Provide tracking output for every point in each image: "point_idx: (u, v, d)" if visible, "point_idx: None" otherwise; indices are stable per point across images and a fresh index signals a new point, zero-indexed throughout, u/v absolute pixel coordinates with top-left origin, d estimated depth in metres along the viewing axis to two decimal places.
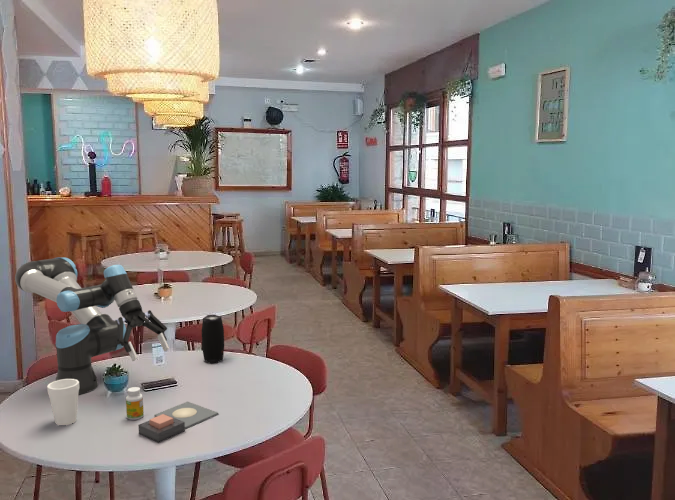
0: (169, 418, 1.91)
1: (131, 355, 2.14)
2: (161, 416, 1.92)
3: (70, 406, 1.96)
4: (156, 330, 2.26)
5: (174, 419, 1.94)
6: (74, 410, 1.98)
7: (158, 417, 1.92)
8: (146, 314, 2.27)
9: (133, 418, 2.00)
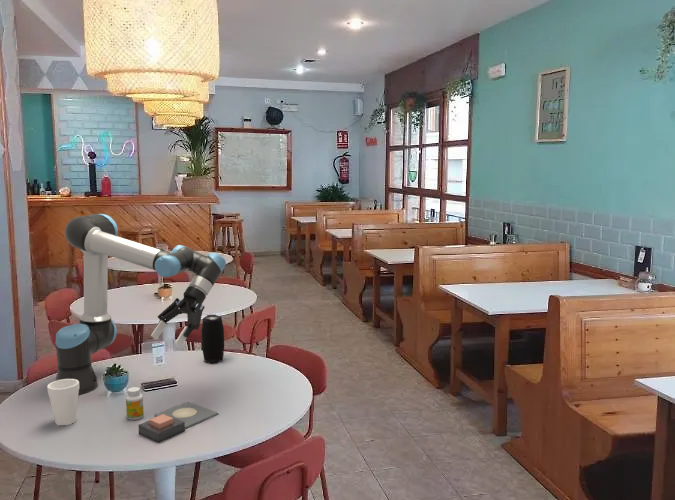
0: (169, 418, 1.91)
1: (181, 339, 2.06)
2: (161, 416, 1.92)
3: (70, 406, 1.96)
4: (168, 319, 2.18)
5: (174, 419, 1.94)
6: (74, 410, 1.98)
7: (158, 417, 1.92)
8: None
9: (133, 418, 2.00)
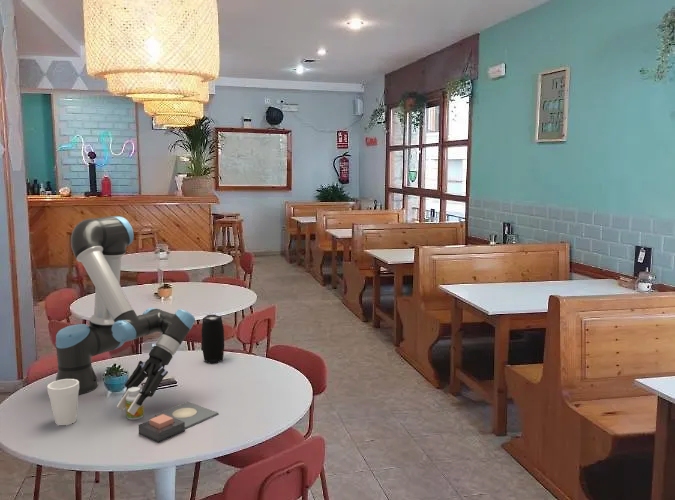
0: (169, 418, 1.91)
1: (133, 407, 1.98)
2: (161, 416, 1.92)
3: (70, 406, 1.96)
4: (135, 385, 2.05)
5: (174, 419, 1.94)
6: (74, 410, 1.98)
7: (158, 417, 1.92)
8: None
9: (133, 418, 2.00)
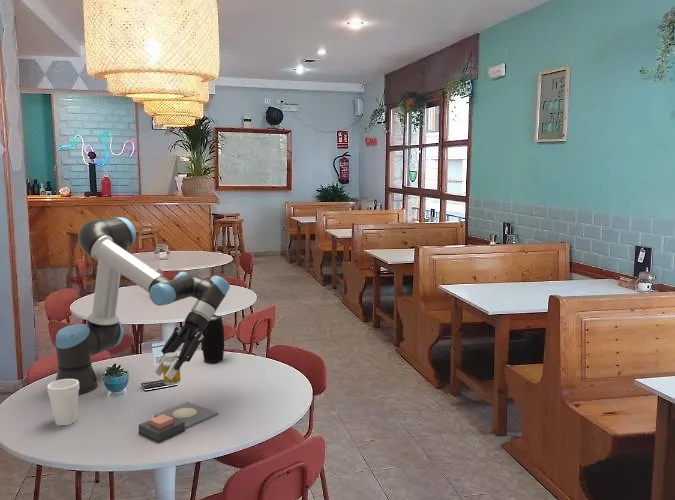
0: (169, 418, 1.91)
1: (171, 372, 1.97)
2: (161, 416, 1.92)
3: (70, 406, 1.96)
4: (172, 351, 2.04)
5: (174, 419, 1.94)
6: (74, 410, 1.98)
7: (158, 417, 1.92)
8: None
9: (170, 383, 1.99)
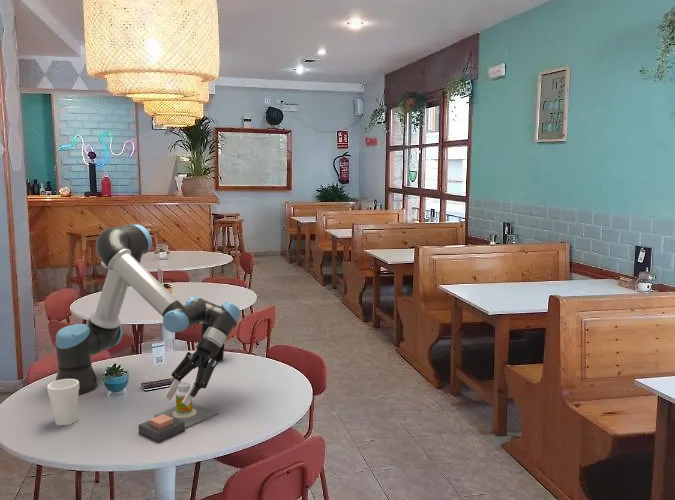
0: (169, 418, 1.91)
1: (188, 398, 1.99)
2: (161, 416, 1.92)
3: (70, 406, 1.96)
4: (182, 376, 2.08)
5: (174, 419, 1.94)
6: (74, 410, 1.98)
7: (158, 417, 1.92)
8: None
9: (183, 413, 2.02)
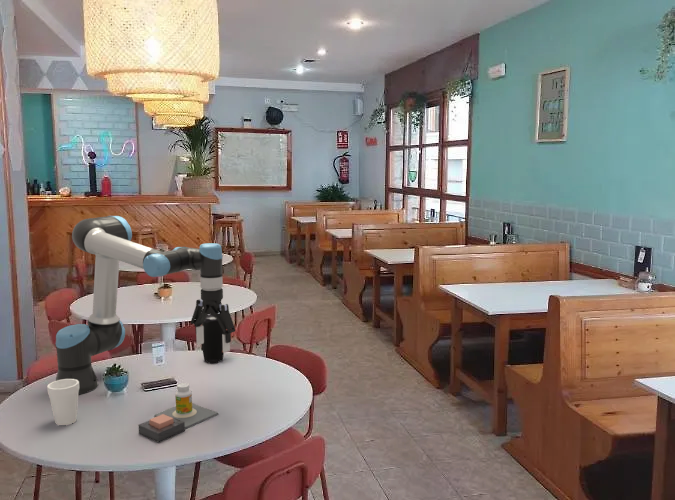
0: (169, 418, 1.91)
1: (226, 346, 2.07)
2: (161, 416, 1.92)
3: (70, 406, 1.96)
4: (201, 321, 2.15)
5: (174, 419, 1.94)
6: (74, 410, 1.98)
7: (158, 417, 1.92)
8: None
9: (183, 414, 2.02)
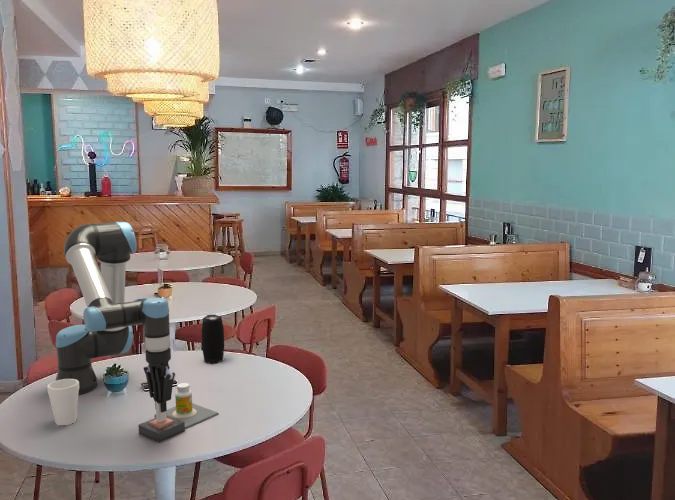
0: (169, 420, 1.91)
1: (161, 415, 1.89)
2: None
3: (70, 406, 1.96)
4: None
5: (174, 419, 1.94)
6: (74, 410, 1.98)
7: None
8: None
9: (183, 414, 2.02)
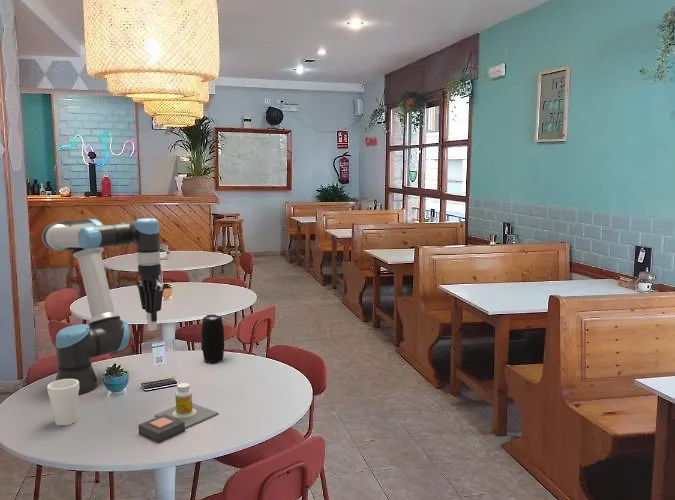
0: (169, 421, 1.91)
1: (152, 325, 2.10)
2: (161, 419, 1.93)
3: (70, 406, 1.96)
4: None
5: (174, 419, 1.94)
6: (74, 410, 1.98)
7: (158, 420, 1.92)
8: None
9: (183, 414, 2.02)
